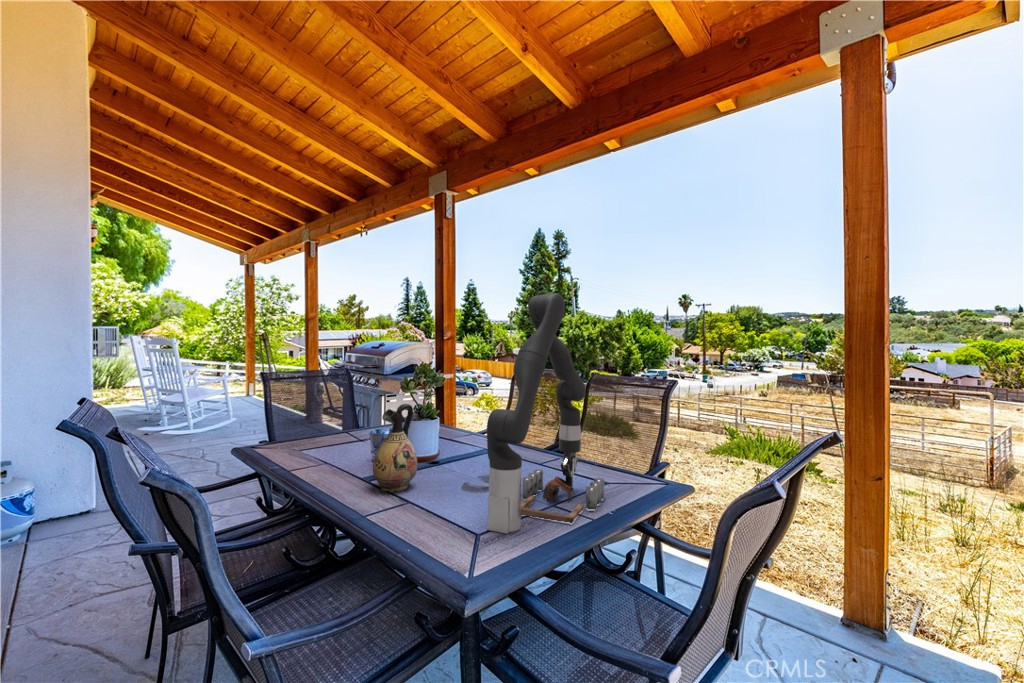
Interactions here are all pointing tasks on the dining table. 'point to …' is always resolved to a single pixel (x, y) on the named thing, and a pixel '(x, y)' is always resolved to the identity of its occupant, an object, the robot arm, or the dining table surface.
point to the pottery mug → (556, 488)
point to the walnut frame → (548, 515)
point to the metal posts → (536, 483)
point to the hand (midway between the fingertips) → (569, 486)
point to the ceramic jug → (396, 453)
